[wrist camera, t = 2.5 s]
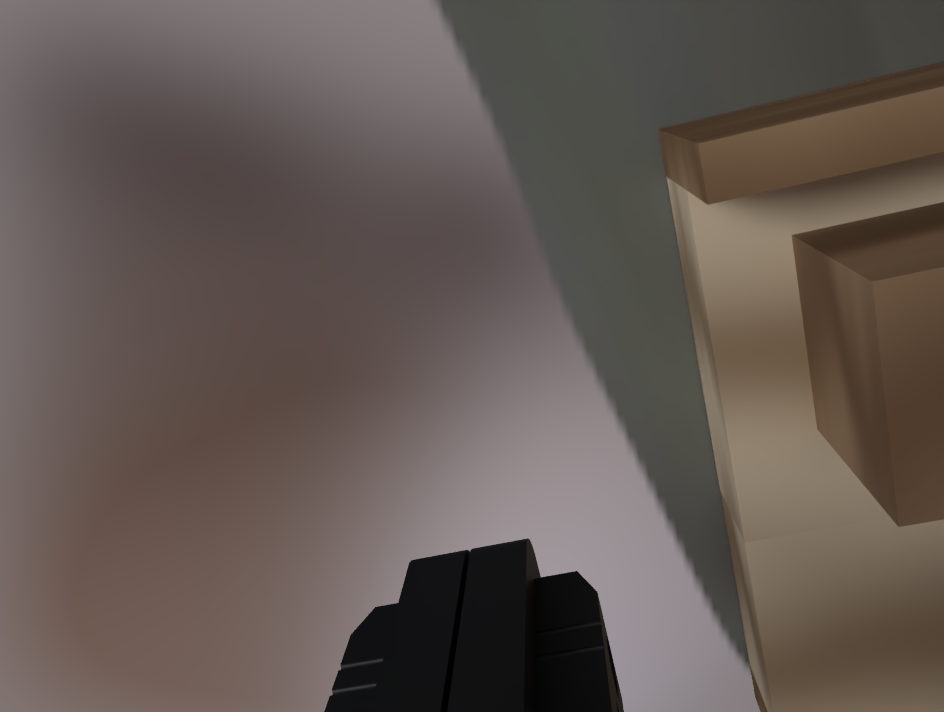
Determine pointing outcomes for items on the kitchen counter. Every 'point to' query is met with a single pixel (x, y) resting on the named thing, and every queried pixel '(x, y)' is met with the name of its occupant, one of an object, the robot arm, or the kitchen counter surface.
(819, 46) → the kitchen counter surface
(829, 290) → the block
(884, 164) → the trap tray
